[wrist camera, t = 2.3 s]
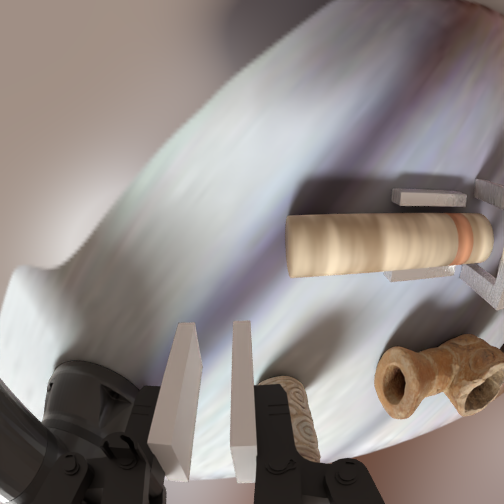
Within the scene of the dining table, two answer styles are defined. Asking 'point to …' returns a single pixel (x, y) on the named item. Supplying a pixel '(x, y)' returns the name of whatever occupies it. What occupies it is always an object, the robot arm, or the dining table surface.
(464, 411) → the pipe
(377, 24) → the dining table surface
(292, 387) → the carving
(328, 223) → the dowel
